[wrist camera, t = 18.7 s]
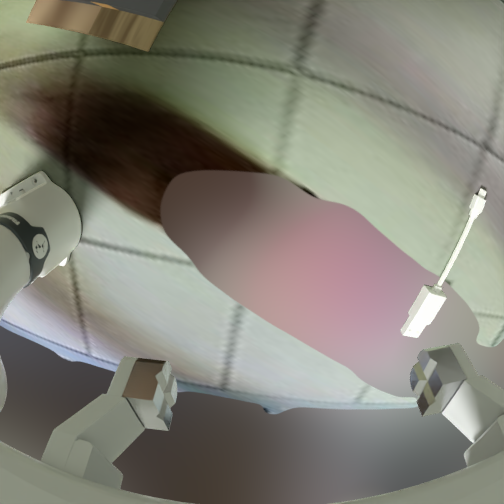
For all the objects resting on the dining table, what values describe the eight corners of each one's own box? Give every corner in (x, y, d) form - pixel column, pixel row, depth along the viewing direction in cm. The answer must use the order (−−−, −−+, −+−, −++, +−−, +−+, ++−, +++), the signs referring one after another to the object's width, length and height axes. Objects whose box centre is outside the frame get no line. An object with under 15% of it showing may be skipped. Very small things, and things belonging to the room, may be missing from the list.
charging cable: (485, 192, 43) (496, 197, 40) (414, 330, 57) (420, 340, 54) (469, 182, 42) (480, 187, 39) (397, 327, 56) (402, 337, 53)
